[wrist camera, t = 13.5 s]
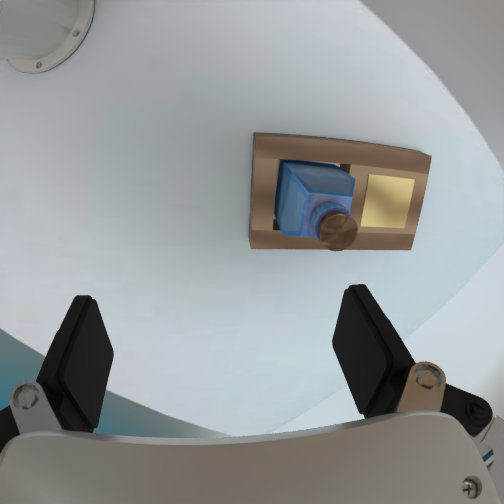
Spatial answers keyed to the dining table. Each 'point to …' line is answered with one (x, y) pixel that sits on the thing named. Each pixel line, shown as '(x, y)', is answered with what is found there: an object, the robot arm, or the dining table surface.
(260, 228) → the frame
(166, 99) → the dining table surface
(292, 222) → the perfume bottle
